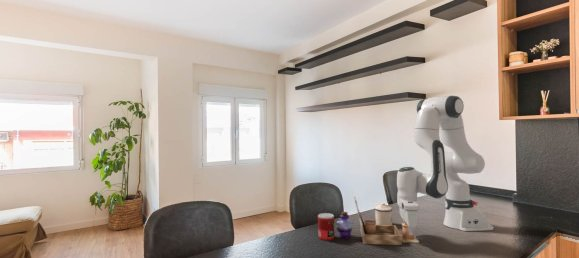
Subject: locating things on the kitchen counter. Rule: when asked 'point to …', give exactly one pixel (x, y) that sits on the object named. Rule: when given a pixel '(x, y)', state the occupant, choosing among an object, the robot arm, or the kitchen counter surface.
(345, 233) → the potion bottle
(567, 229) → the kitchen counter surface
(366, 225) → the pot far
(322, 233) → the canned food
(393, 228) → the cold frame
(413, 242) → the cork mat
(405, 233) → the pot near
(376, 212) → the teacup with lid
